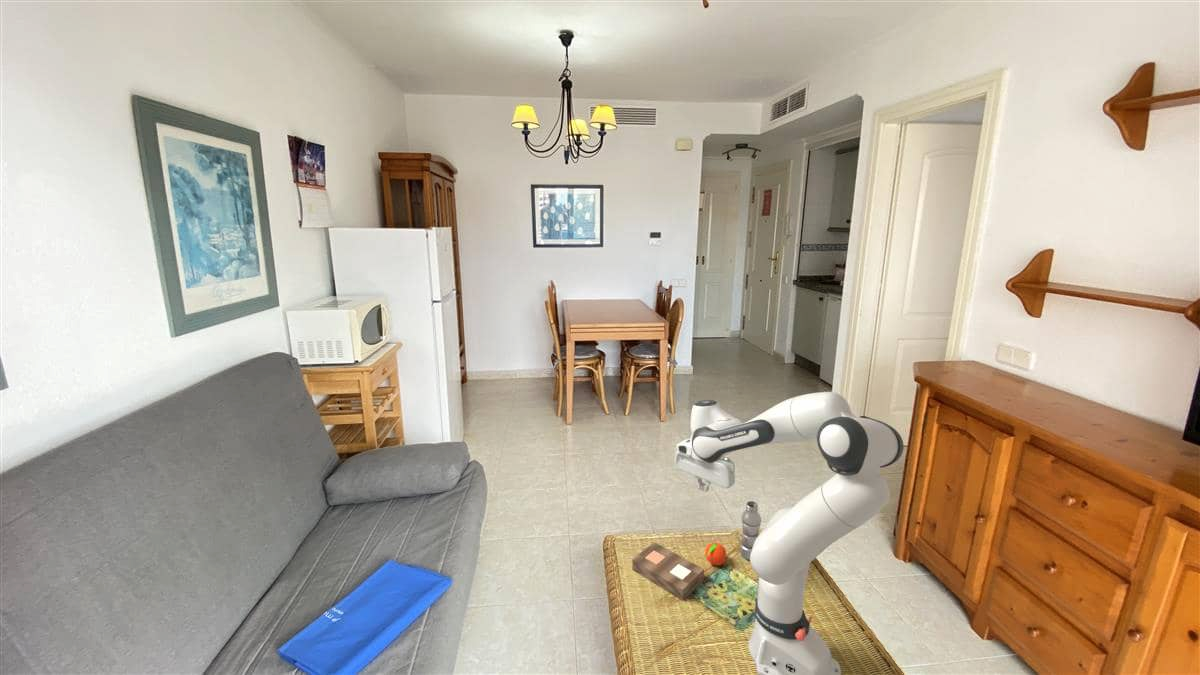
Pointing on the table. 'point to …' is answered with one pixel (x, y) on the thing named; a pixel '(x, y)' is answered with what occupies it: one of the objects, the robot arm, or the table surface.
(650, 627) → the table surface
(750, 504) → the plastic bottle
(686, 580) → the key console
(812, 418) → the robot arm
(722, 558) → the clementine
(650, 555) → the key terracotta
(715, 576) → the table surface
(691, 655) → the table surface
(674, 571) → the key ivory
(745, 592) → the table surface
